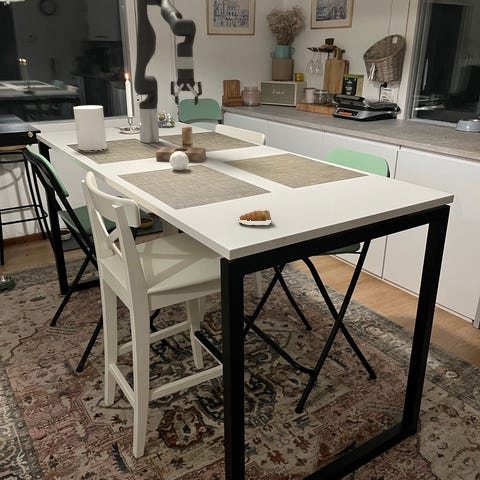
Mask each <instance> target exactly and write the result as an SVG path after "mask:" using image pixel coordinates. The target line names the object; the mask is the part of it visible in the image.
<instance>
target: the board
mask: <svg viewBox="0 0 480 480" xmlns="http://www.w3.org/2000/svg"><path fill="white" fill-rule="evenodd" d="M206 149H207V148H206V147H194V146H193V147H183V146H181V147H180V146H162V147H161V148H159V149H158V150H156V151H155V158H156V159H155V161H157V162H170V157H171V155H172V154H173V153H175V152H178V151H180V152H184V153H185V154H186V155H187V157H188V160H189V162H188V163H201V162H203V160H204V159H205V158H206V157H207V156H206V155H207V153H206V152H207V151H206Z"/></svg>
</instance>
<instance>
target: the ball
mask: <svg viewBox="0 0 480 480" xmlns="http://www.w3.org/2000/svg"><path fill="white" fill-rule="evenodd" d="M169 163H170V167H171V168H172V169H173V170H175V171H178V170H180V171H183V170H186V168H187V167H188V165H189V163H190V162H189V160H188V157H187V155H186V154H185V153H184V152H180V151H178V152H175V153H173V154H172V155H171V157H170V161H169Z"/></svg>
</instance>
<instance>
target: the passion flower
mask: <svg viewBox="0 0 480 480" xmlns="http://www.w3.org/2000/svg"><path fill="white" fill-rule="evenodd" d="M170 115H171V113H170V112H168V113H166V111H165V110H164V109H163V110H162V111H161V112H158V127H160V128H161V129H163V127H164V126H165V127H166V126H168V123H169V124H171V127H173V128H174V127H175V125H176V124H175V121H174V120H175V119H174V118H173V116H170Z"/></svg>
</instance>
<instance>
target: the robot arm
mask: <svg viewBox="0 0 480 480" xmlns="http://www.w3.org/2000/svg"><path fill="white" fill-rule="evenodd" d="M148 6H157V7H159V8H160V16H161V17H162V18H163V20H164V21H165V22H166V23H167V24H168V26H169V28H170V29H171V32H172V34H173V35H174V36H176V37H184V40H183V41H180V42H178V43H177V45H176V72H177V73H176V74H177V76H176V77H177V81H174V80H171V81H170V95H171V96H174V102H175V104H176V105H177V106H178V105H180V98H179V97H180V96H179V95H180V93H181V92H191V93H192V94H193V95H194V106H197V105H198V104H199V96H202V95H203V88H202V87H203V85H202V81H201V80H199V81H196V80H195V65H194V63H195V62H194V54H193V52H194V51H193V50H194V49H193V47H194V43H195V37H196V33H197V25H196V23H195V21H194V20H192V19H188V18H184V17H183V14H182V13H181V11H179V10H178V9H177V8H176V7H175V6H174V4H172V2H171V1H170V0H136V9H137V10H136V12H137V14H136V15H137V16H136V17H137V19H136V20H137V26H136V28H137V29H136V31H137V32H136V60H135V61H136V62H135V71H134V80H133V85H134V91H135V93H136V95H138V96H146V95H147V96H146V97H145V99H144V100H142V101H140V102H139V103H138V107H139V109H138V110H139V121H140V123H139V124H138V125H139V126H138V127H139V129H138V130H139V140H140V143H145V144H148V143H149V144H151V143H152V144H154V143H159V142H160V133H159V126H158V113H159V112H158V103H159V102H158V101H159V98H158V97H159V94H158V93H159V92H158V91H159V89H158V88H159V87H158V80H157V78H156V77H155V76H154V75H146V71H147V67H148V64H149V63H150V61H151V59H152V58H153V56H154V55H155V52H156V46H157V35H156V31H155V30H154V27H153V25H152V22H151V21H150V19H149V15H148ZM195 85H196V87H197V90H196V89H195ZM176 86H178V88H177V90H176V92H175V87H176ZM197 91H198V92H197Z"/></svg>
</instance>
